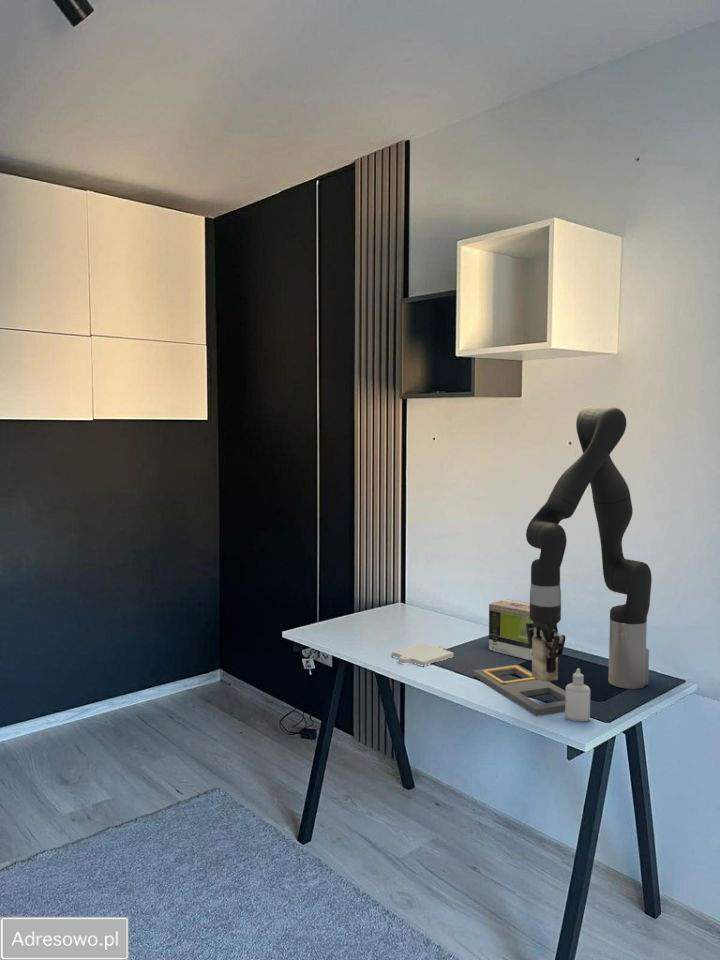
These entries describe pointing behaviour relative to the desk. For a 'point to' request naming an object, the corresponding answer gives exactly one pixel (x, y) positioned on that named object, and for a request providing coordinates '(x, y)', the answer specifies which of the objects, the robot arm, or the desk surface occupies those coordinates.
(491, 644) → the tea box
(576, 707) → the eye dropper bottle
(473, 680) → the desk surface
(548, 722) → the desk surface
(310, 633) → the desk surface
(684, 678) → the desk surface
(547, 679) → the plug
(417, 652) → the mounting plate
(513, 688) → the dock
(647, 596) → the robot arm
